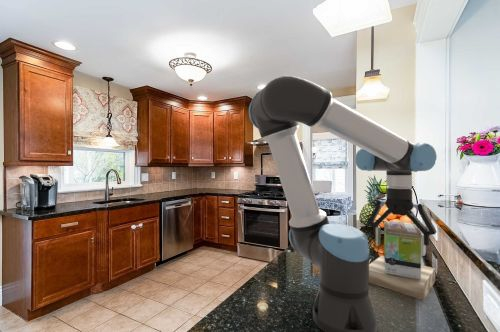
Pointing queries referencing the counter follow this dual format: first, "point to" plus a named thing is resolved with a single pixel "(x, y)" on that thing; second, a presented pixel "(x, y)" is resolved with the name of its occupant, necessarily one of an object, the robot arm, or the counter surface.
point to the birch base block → (402, 280)
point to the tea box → (402, 249)
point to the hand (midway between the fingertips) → (399, 249)
